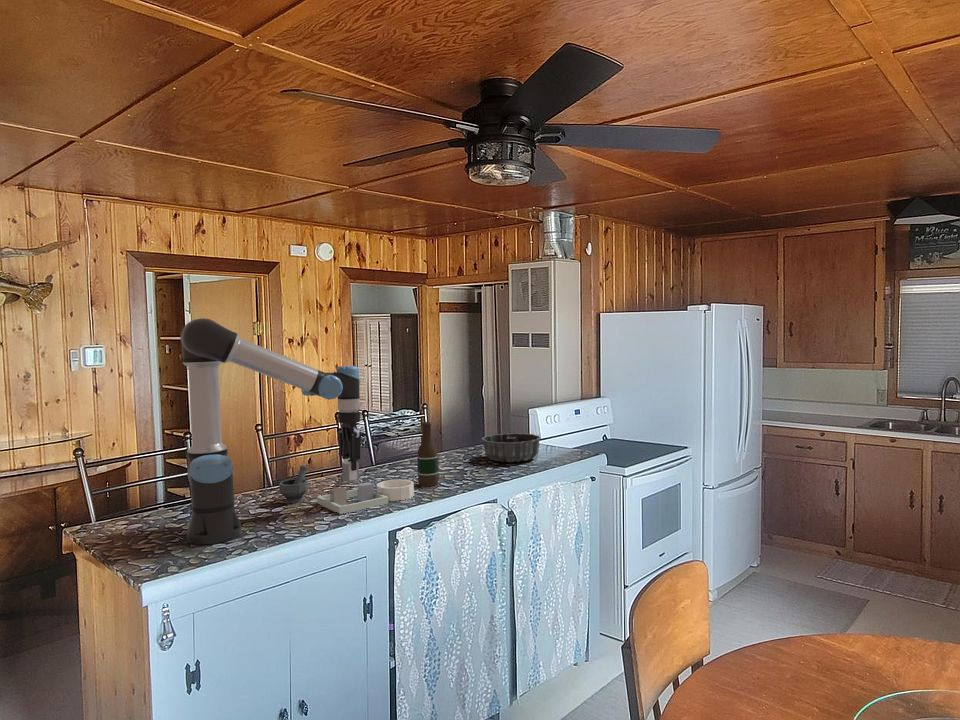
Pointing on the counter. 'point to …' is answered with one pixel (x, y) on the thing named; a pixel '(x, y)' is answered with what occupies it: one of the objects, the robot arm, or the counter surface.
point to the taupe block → (338, 496)
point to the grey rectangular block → (346, 471)
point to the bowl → (396, 489)
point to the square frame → (377, 501)
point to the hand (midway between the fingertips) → (350, 478)
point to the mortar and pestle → (295, 487)
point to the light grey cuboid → (365, 491)
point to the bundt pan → (511, 447)
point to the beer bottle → (427, 458)
